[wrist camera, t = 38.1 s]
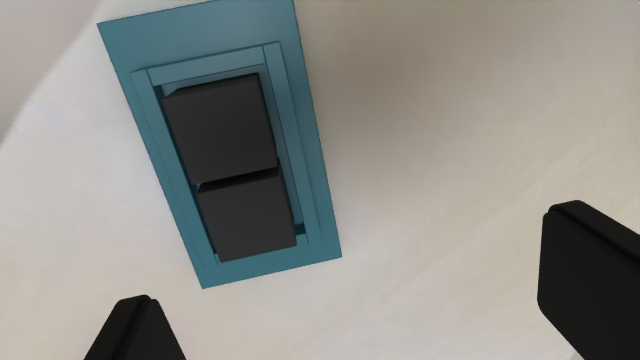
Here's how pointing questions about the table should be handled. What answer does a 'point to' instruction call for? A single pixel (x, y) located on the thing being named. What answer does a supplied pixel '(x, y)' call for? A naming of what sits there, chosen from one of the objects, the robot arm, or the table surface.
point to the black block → (222, 128)
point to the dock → (215, 64)
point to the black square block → (248, 214)
